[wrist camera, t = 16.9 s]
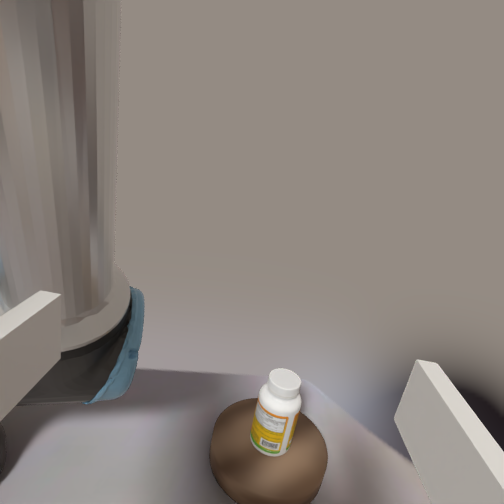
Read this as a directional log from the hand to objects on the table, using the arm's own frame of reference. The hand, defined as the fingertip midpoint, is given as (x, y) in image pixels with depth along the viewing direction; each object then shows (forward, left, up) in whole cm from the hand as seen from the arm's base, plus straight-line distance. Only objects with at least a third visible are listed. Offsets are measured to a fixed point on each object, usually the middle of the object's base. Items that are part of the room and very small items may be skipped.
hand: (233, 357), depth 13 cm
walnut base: (-13, +23, -32) cm, 41 cm away
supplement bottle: (-13, +22, -29) cm, 39 cm away
